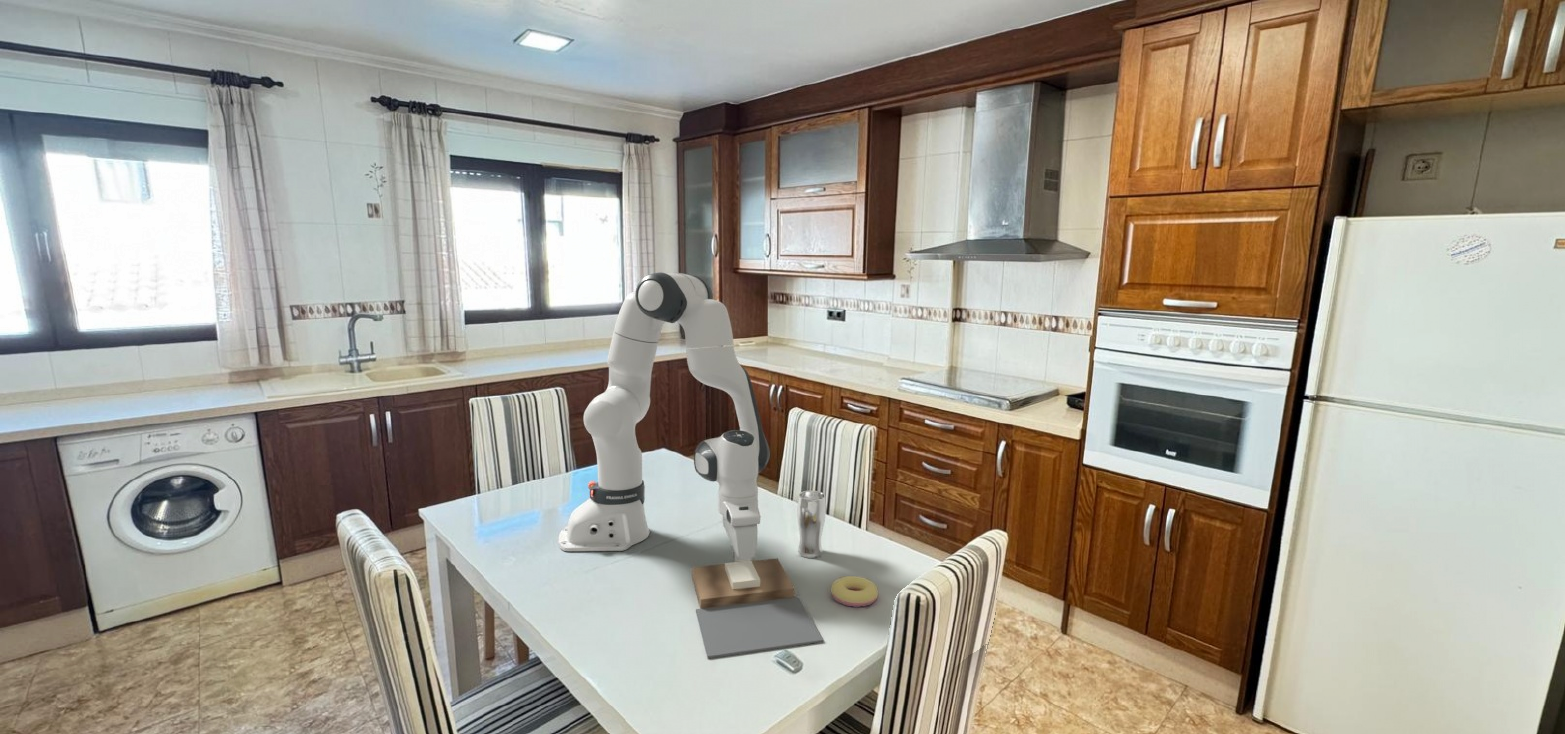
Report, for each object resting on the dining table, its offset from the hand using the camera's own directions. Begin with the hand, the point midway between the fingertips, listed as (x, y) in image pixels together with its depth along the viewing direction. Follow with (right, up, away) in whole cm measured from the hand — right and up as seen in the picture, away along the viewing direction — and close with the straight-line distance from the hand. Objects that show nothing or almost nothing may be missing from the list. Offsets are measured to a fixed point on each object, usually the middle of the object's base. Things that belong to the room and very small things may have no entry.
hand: (737, 560), depth 144 cm
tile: (+1, -2, -6) cm, 6 cm away
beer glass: (+17, -2, +13) cm, 21 cm away
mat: (+5, -7, -19) cm, 21 cm away
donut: (+26, -6, -7) cm, 28 cm away
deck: (+1, -4, -5) cm, 7 cm away
